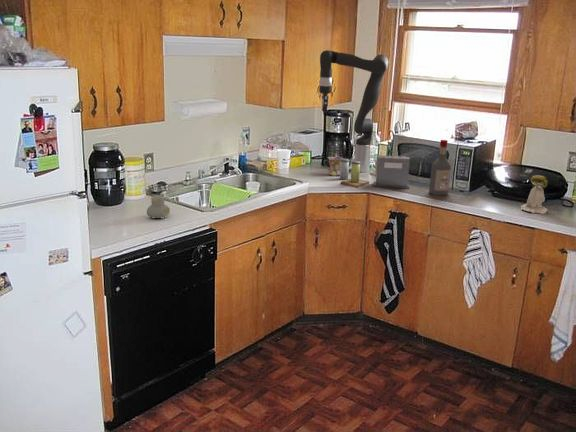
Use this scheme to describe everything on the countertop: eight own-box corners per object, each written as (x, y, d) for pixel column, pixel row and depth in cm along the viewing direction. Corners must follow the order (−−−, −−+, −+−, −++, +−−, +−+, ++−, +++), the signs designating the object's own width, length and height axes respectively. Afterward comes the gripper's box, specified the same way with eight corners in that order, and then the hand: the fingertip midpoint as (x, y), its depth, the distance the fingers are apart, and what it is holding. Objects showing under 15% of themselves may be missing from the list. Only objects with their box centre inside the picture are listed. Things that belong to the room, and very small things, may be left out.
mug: (342, 173, 375) (343, 156, 372) (342, 177, 366) (343, 160, 363) (323, 172, 376) (324, 156, 373) (322, 176, 367) (323, 159, 364)
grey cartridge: (342, 177, 365) (343, 158, 361) (349, 178, 362) (351, 159, 358) (338, 179, 361) (339, 159, 357) (345, 180, 358) (346, 160, 354)
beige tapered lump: (516, 206, 313) (521, 172, 308) (540, 207, 314) (545, 173, 309) (526, 213, 302) (531, 178, 297) (550, 213, 303) (556, 178, 297)
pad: (351, 180, 359) (351, 178, 359) (368, 183, 352) (369, 181, 352) (340, 183, 350) (340, 181, 350) (357, 187, 343) (358, 185, 343)
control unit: (373, 182, 354) (375, 154, 349) (407, 184, 352) (410, 156, 347) (374, 186, 345) (376, 157, 340) (409, 188, 344) (411, 159, 338)
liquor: (450, 195, 332) (456, 141, 323) (435, 196, 330) (441, 142, 321) (441, 190, 341) (446, 138, 332) (427, 191, 338) (432, 139, 329)
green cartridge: (349, 180, 353) (351, 160, 350) (358, 180, 353) (359, 160, 350) (350, 182, 348) (352, 162, 345) (359, 182, 348) (361, 162, 345)
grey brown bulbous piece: (161, 221, 276) (160, 200, 273) (145, 219, 278) (143, 199, 275) (171, 214, 286) (171, 194, 283) (156, 213, 288) (155, 193, 285)
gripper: (318, 83, 364) (317, 110, 369) (320, 86, 350) (319, 113, 355) (330, 84, 364) (329, 110, 369) (332, 86, 350) (331, 114, 355)
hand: (324, 112), depth 362 cm, fingers open, 8 cm apart
